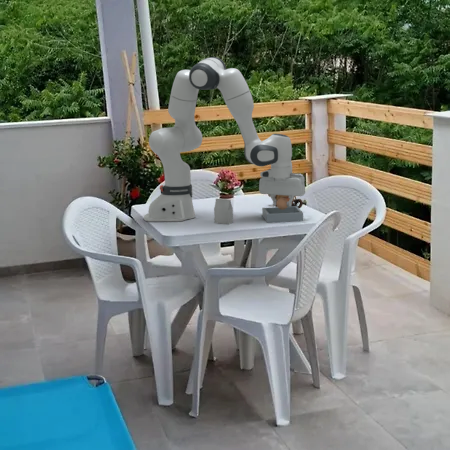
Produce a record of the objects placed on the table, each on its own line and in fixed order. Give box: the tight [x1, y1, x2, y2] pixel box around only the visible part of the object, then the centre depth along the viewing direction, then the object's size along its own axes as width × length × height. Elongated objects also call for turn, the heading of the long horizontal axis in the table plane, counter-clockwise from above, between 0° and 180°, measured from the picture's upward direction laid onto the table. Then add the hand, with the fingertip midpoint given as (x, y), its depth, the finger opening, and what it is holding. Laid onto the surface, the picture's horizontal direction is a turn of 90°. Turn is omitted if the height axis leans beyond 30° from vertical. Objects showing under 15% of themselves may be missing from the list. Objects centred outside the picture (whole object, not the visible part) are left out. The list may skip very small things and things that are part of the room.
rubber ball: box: [275, 198, 288, 210], centre depth 327 cm, size 5×5×5 cm
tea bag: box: [213, 198, 234, 225], centre depth 322 cm, size 4×7×10 cm, turn 60°
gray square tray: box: [261, 205, 304, 224], centre depth 328 cm, size 15×15×4 cm
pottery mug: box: [274, 196, 304, 209], centre depth 340 cm, size 12×10×8 cm
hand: (282, 205), depth 327 cm, fingers closed on rubber ball, 5 cm apart
